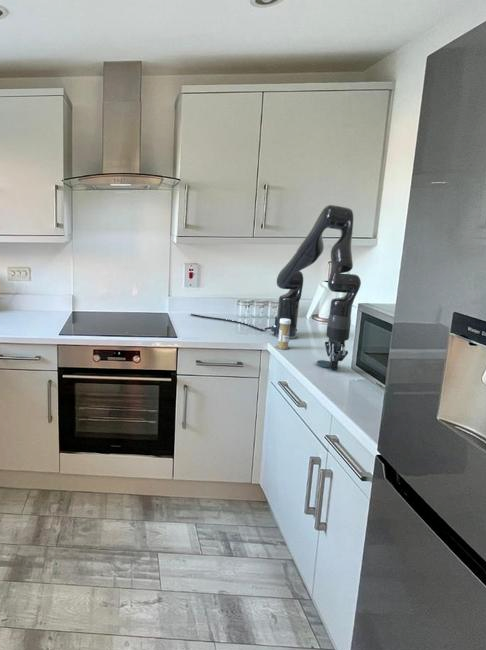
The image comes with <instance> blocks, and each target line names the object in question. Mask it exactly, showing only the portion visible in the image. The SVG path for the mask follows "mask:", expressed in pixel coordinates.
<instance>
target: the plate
mask: <svg viewBox="0 0 486 650" xmlns="http://www.w3.org/2000/svg"><path fill="white" fill-rule="evenodd" d="M316 364H317V365H318V366H319V367H321V368H325V369H330V360H324V359H323V360H322V359H321V360H320V359H319V360H316Z"/></svg>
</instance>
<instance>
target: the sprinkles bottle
mask: <svg viewBox="0 0 486 650" xmlns="http://www.w3.org/2000/svg"><path fill="white" fill-rule="evenodd" d="M290 324H291V320H290V319H286V318H281V319H280V328H279V337H278V336H277V337H278V338H277V349H279V350H288V349H289V342H290V339H289V331H290Z"/></svg>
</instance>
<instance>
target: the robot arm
mask: <svg viewBox="0 0 486 650" xmlns="http://www.w3.org/2000/svg"><path fill="white" fill-rule="evenodd" d="M353 228H354V212H353V210H352V209H351V208H349V207H345V206H339V205H335V204H328V205H326V206H325V207H324V208H323V209H322V210H321V212H320V213H319V215H318V217H317V218H316V221H315V222H314V224H313V227H312V228H311V229H310V231H309V232H308V234H307V235H306V237H305V238H304V240H303V241H302V242H301V243H300V244H299V247H298V248H297V250H296V252H295V253H294V254H293V256H292V257H291V258H290V260H289V261H288V262H287V263H286V264H285V266H283V268H282V269H281V270H280V271H279V273H277V274H278V275H277V277H276V286H277V287H278V288H279V289H282V290H288V292H286V293H284V294H281V295H280V296H279V297H278V304H277V314H276V316H274V325H271V326H267V327H265V328H259V327H258V326H255V325H252V326H251V324H249V323H246V322H243V323H241V322H242V321H239V322H237V321H238V320H234V321H232V320H233V319H229V318H227V320H226V318H222V317H213V316H205V315H200V314H194V313H191V314H190V316H192V317H198V318H203V319H212V320H219V321H224V322H225V321H226V322H230V323H231V322H232V323H236V324H241V325H245V326H247V327H250V328H253V329H255V330H257V331H261V332H266V331H267V330H270V331H271V332H273V336H276V337H279V328H280V319H281V318H286V319H290V320H291V324H290V331H289V340H291V339H292V340H293V339H296V337H297V333H298V328H297V327H298V318H299V309H300V301H301V298H302V293H303V287H304V273H303V272H302V270H304V269H306V268H308V267H310V266H311V265H313V264H314V263H316V262H317V260H318V259H319V257H320V256H321V255H322V254H323V252H324V249H325V246H324V240H323V233H324V231H325V230H326V229H333V230H338V231H340V232H339V233H340V237H339V238H338V239H337V241H336V242H335V243H334V244H333V246H332V247H331V250H330V263H331V268H330V274H329V277H328V280H327V288H328V289H329V291H331V292H333V293H343V294H345V295H343V296H341V297H336V298H335V297H334V298H332V299H331V301H330V307H329V314H328V318H327V325H326V333H325V336H326V337H327V338H328V340H327V341H325V342H324V346H325V351H326V355H327V357H328V358H329V361H330V368H329V369H330V370H331V371H338V366H339V362H343V361H344V360H345V358H346V357H347V356H348V355H349V350H346V349H345V348H346V344H345V343H346V341H348V340H349V339H350V333H351V326H352V325H351V323H352V310H353V305H354V301H355V299H356V296H357V295H358V292H359V291H360V289H361V285H362V280H361V278H360V276H359V275H357V274H356V273H355V274H353V273H348V272H350V271H352V270H353V268H354V263H353V262H354V261H353V255H352V241H353V240H352V239H353ZM245 323H246V324H245ZM248 324H249V325H248ZM254 326H255V327H254ZM263 329H265V330H263Z"/></svg>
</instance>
